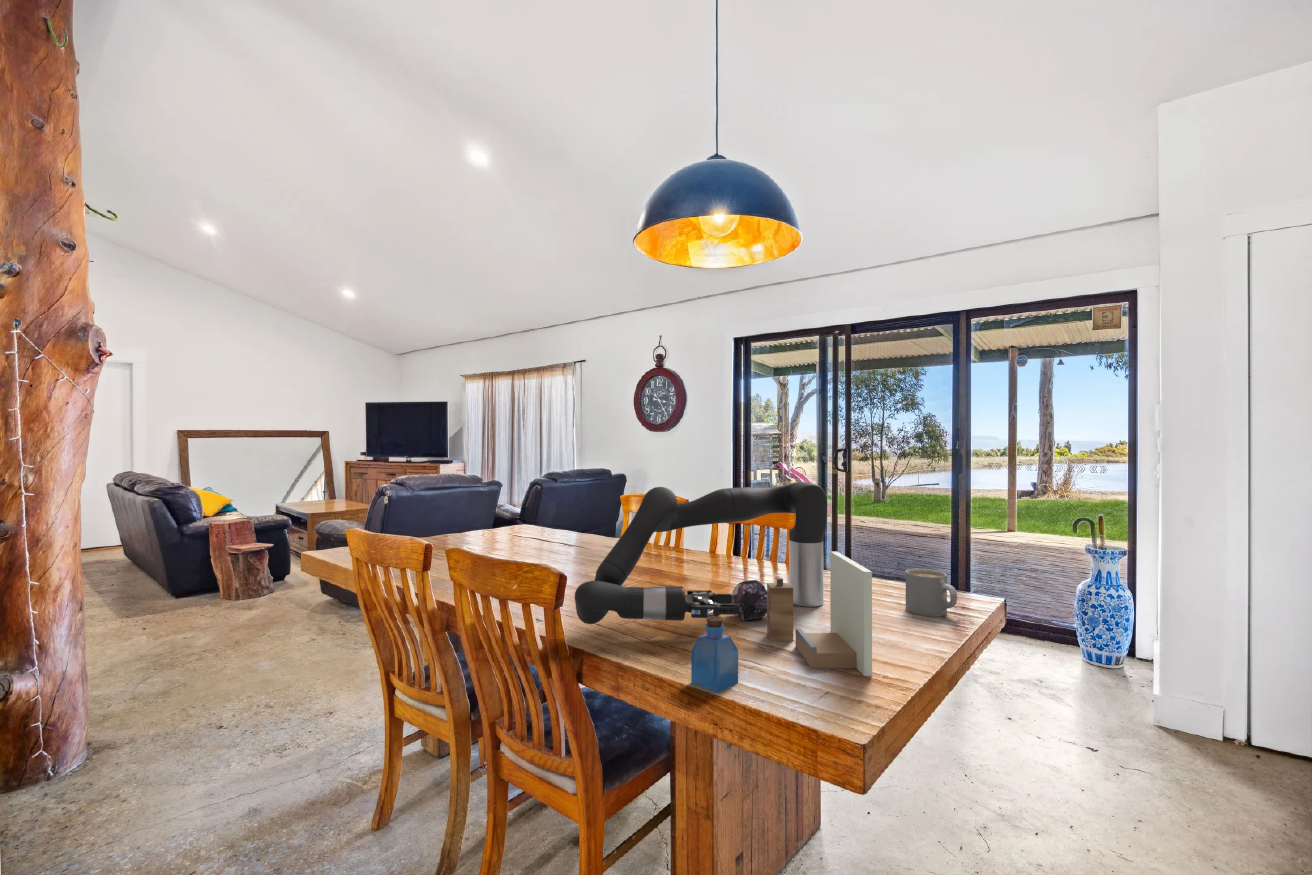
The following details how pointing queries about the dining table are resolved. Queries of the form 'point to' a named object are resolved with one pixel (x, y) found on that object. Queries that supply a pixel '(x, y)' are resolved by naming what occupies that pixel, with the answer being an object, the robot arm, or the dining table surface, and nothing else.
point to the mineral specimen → (750, 600)
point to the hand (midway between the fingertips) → (734, 603)
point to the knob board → (780, 611)
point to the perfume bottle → (714, 658)
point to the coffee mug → (928, 592)
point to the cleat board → (843, 621)
